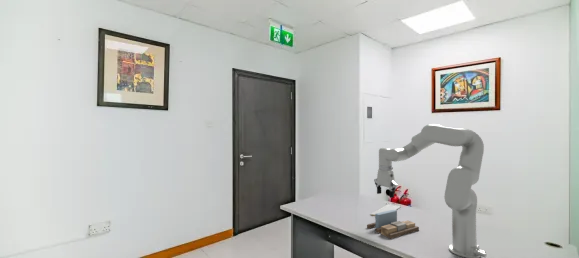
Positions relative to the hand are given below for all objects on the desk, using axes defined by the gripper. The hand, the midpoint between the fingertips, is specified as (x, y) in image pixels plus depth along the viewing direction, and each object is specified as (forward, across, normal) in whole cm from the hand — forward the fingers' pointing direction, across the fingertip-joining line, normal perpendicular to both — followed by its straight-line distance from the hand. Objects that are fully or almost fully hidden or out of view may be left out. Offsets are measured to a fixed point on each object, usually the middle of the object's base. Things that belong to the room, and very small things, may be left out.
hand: (385, 195), depth 151 cm
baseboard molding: (+20, +21, -23) cm, 37 cm away
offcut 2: (+19, -10, 0) cm, 21 cm away
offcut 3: (+19, -10, -8) cm, 23 cm away
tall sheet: (+19, -1, 0) cm, 19 cm away
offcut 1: (+19, -10, +8) cm, 23 cm away
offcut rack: (+19, -5, 0) cm, 20 cm away
